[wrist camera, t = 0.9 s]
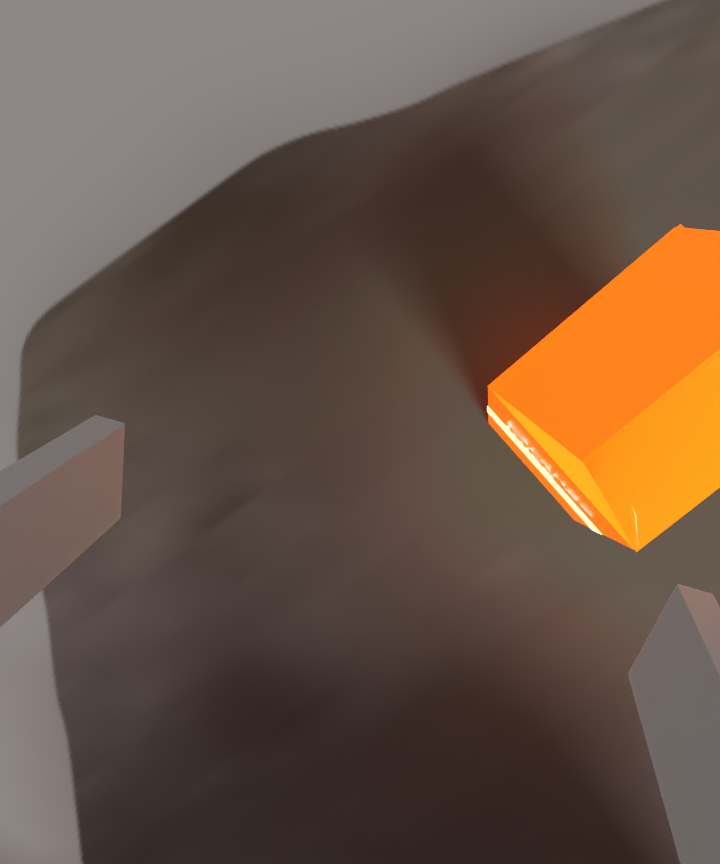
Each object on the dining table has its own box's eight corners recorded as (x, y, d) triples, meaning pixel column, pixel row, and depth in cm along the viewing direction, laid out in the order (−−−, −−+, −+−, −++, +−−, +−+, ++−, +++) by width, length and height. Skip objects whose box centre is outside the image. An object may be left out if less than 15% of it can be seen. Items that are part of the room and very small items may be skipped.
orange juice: (485, 421, 36) (482, 355, 17) (602, 323, 35) (745, 130, 16) (575, 523, 35) (688, 583, 15) (700, 424, 34) (993, 350, 14)
